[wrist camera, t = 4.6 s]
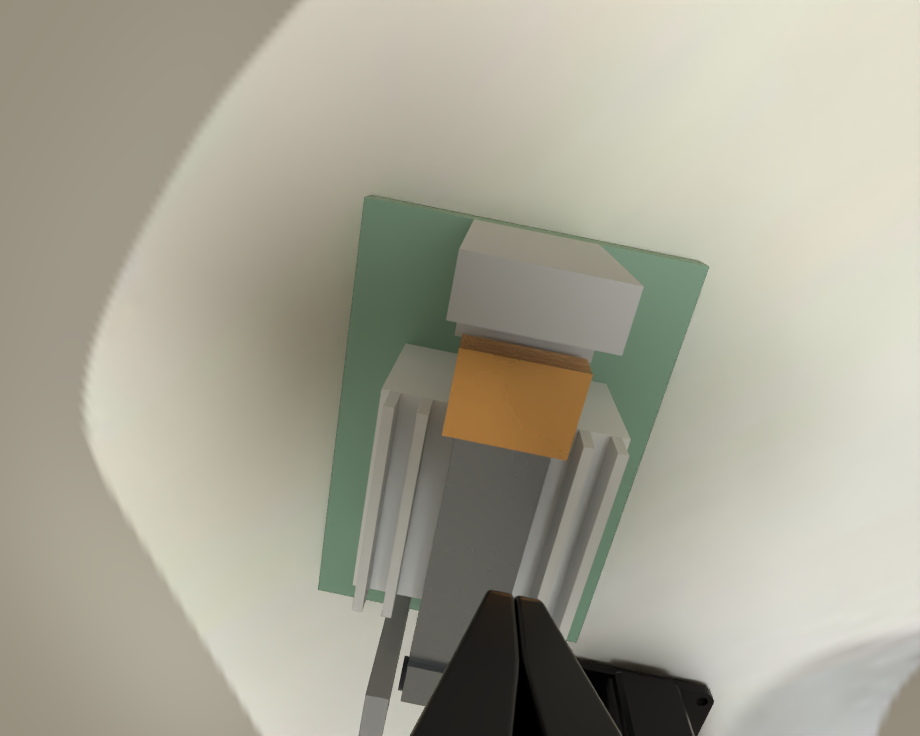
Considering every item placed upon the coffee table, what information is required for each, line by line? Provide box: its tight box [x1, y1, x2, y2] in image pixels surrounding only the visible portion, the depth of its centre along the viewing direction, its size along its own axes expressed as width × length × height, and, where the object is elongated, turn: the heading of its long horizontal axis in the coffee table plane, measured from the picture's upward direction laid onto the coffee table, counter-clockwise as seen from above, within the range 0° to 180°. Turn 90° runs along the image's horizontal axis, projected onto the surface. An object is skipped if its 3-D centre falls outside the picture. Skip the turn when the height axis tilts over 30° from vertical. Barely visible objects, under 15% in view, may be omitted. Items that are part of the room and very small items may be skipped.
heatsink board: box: [318, 195, 709, 736], centre depth 18 cm, size 16×11×7 cm
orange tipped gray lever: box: [398, 334, 593, 706], centre depth 16 cm, size 12×3×1 cm, turn 169°
